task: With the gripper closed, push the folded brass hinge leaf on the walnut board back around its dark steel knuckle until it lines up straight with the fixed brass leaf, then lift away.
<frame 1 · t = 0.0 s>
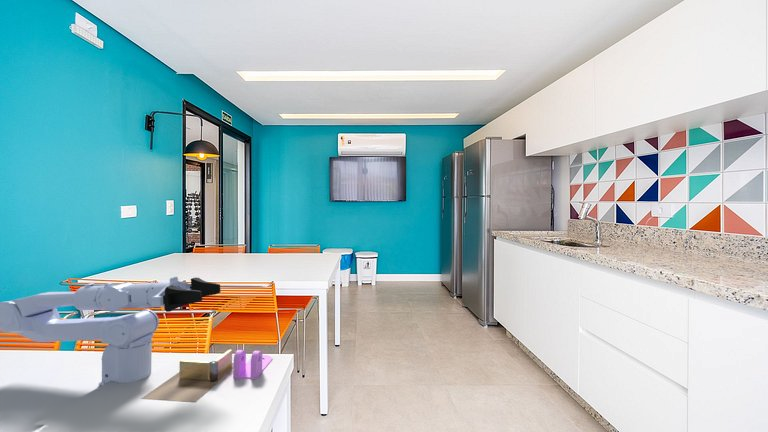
hand: (210, 292, 85), 22 cm above the table, tool horizontal, fingers open, 7 cm apart
swing leaf: (194, 369, 85), point 3 cm above the table, hinge at -90.0°
bracket: (255, 371, 93), on the table
walnut board: (195, 383, 85), on the table
fixed leaf: (213, 380, 85), resting on walnut board
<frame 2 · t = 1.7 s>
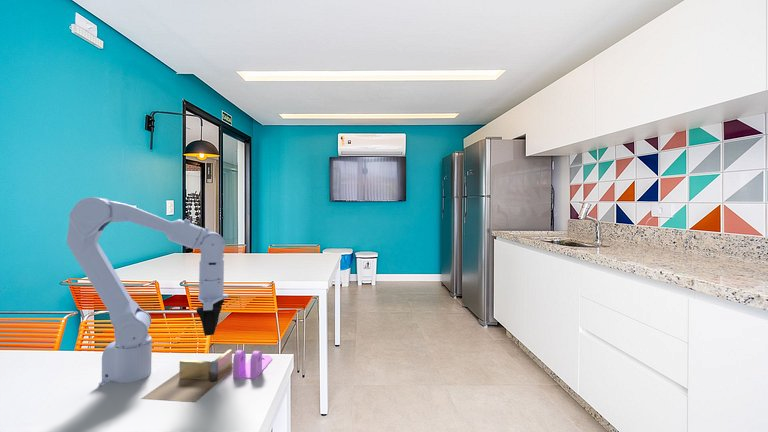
hand: (210, 330, 94), 9 cm above the table, tool pointing down, fingers open, 6 cm apart
nothing on the table moved.
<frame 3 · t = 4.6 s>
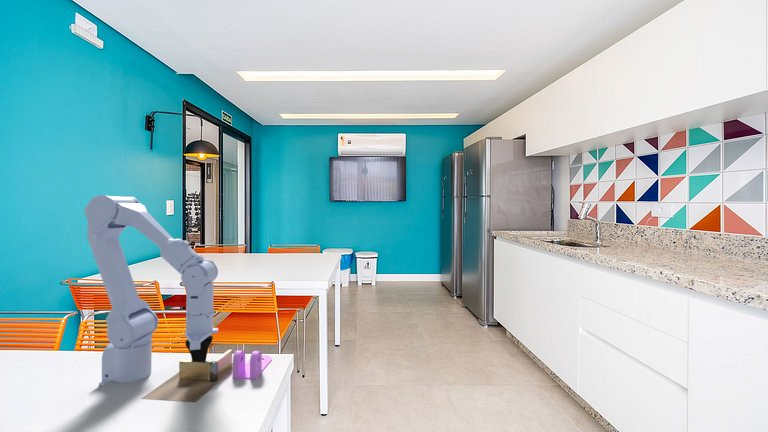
hand: (199, 368, 87), 3 cm above the table, tool pointing down, fingers closed, pressing on swing leaf
swing leaf: (194, 369, 85), point 3 cm above the table, hinge at -89.3°, touching gripper
everything else where it was.
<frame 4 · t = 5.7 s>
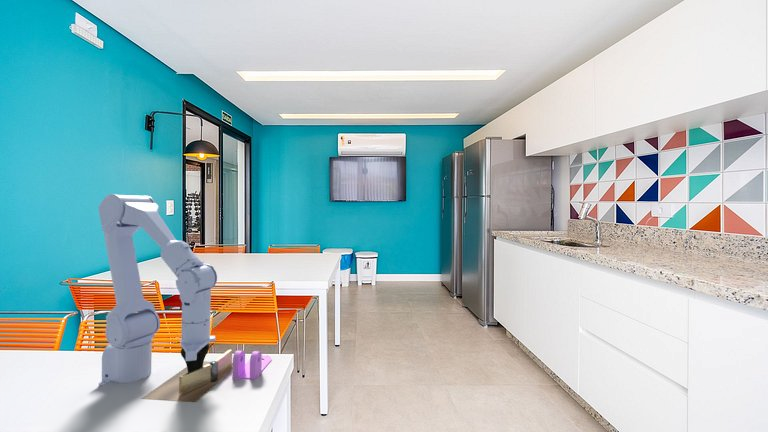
hand: (194, 378, 82), 3 cm above the table, tool pointing down, fingers closed, pressing on swing leaf
swing leaf: (195, 379, 81), point 3 cm above the table, hinge at -22.7°, touching gripper
everything else where it was.
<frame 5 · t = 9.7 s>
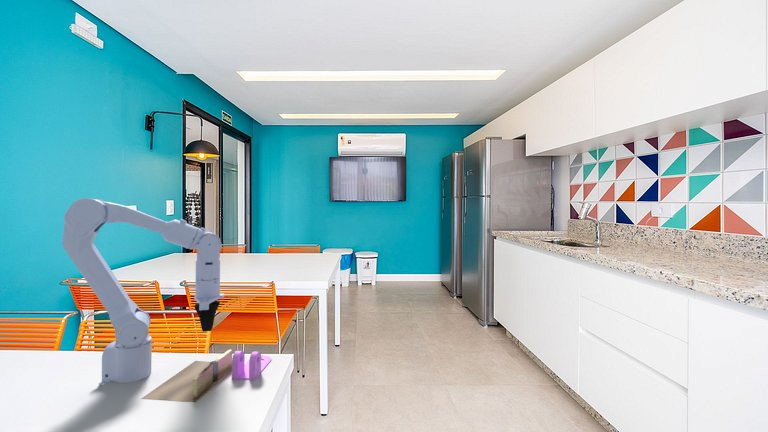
hand: (207, 330, 94), 9 cm above the table, tool pointing down, fingers closed
swing leaf: (203, 380, 80), point 3 cm above the table, hinge at 3.3°
everything else where it was.
at the end: swing leaf at +3° (first picture: -90°); bracket moved 1.4 cm from its start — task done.
